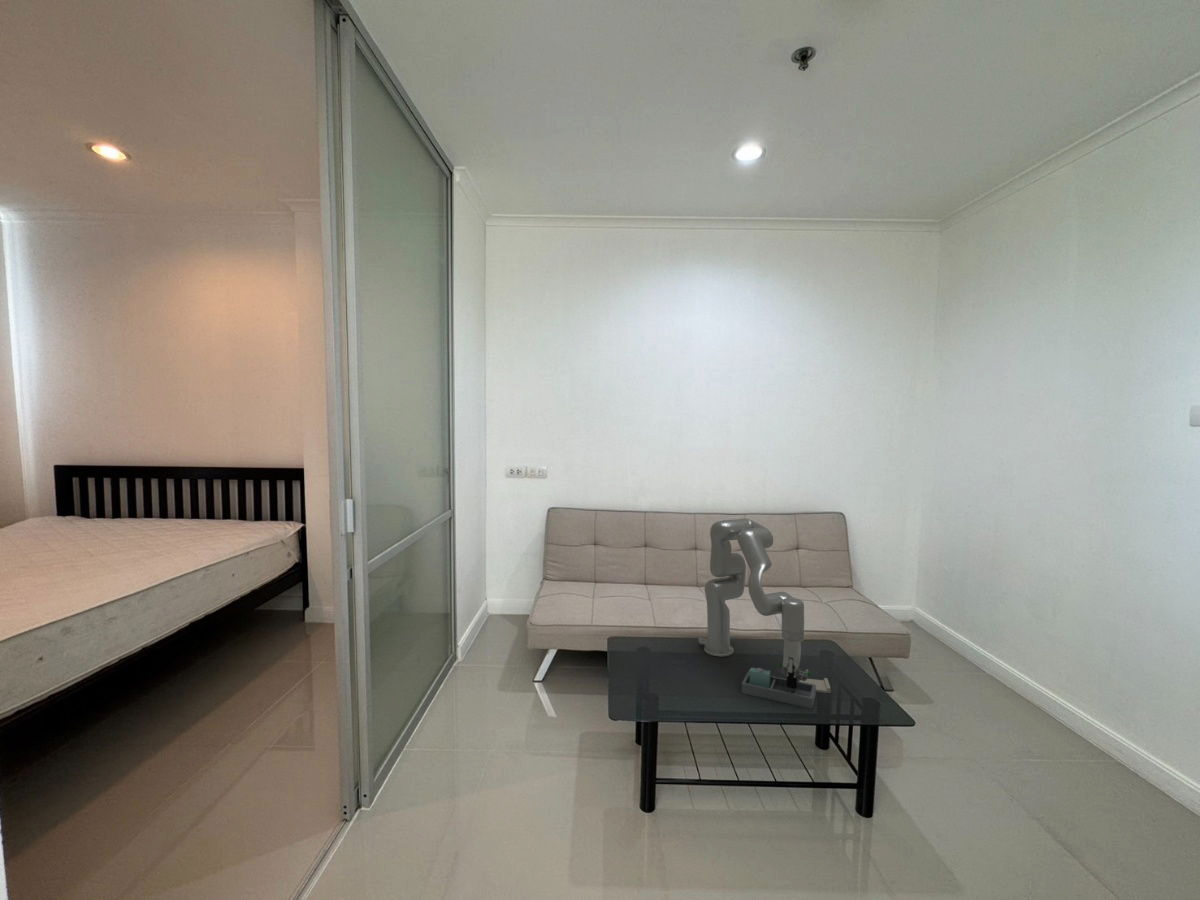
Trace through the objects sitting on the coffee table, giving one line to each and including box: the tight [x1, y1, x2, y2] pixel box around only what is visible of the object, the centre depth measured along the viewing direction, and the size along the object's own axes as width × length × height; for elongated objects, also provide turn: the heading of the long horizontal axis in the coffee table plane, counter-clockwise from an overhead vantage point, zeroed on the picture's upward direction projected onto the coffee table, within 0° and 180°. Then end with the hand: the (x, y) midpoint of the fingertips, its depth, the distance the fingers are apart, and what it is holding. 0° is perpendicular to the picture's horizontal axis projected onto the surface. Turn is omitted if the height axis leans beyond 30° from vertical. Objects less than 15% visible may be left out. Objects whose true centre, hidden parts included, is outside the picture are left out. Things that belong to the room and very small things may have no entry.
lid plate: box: [799, 677, 832, 694], centre depth 188 cm, size 10×8×2 cm
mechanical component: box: [778, 662, 811, 693], centre depth 181 cm, size 3×10×10 cm, turn 62°
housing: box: [741, 667, 817, 710], centre depth 183 cm, size 24×11×8 cm, turn 62°
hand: (793, 683), depth 181 cm, fingers open, 5 cm apart
